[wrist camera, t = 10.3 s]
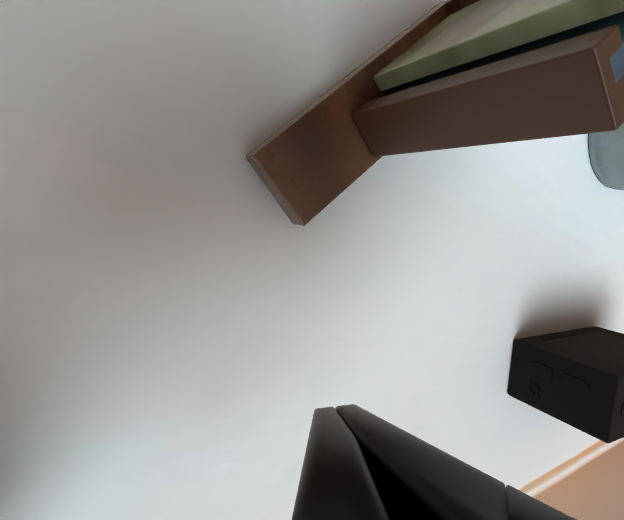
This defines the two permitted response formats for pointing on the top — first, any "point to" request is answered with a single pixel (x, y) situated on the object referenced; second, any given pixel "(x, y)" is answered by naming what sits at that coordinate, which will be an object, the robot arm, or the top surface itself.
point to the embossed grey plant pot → (608, 157)
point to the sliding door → (508, 95)
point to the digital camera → (573, 378)
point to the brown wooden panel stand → (388, 78)
